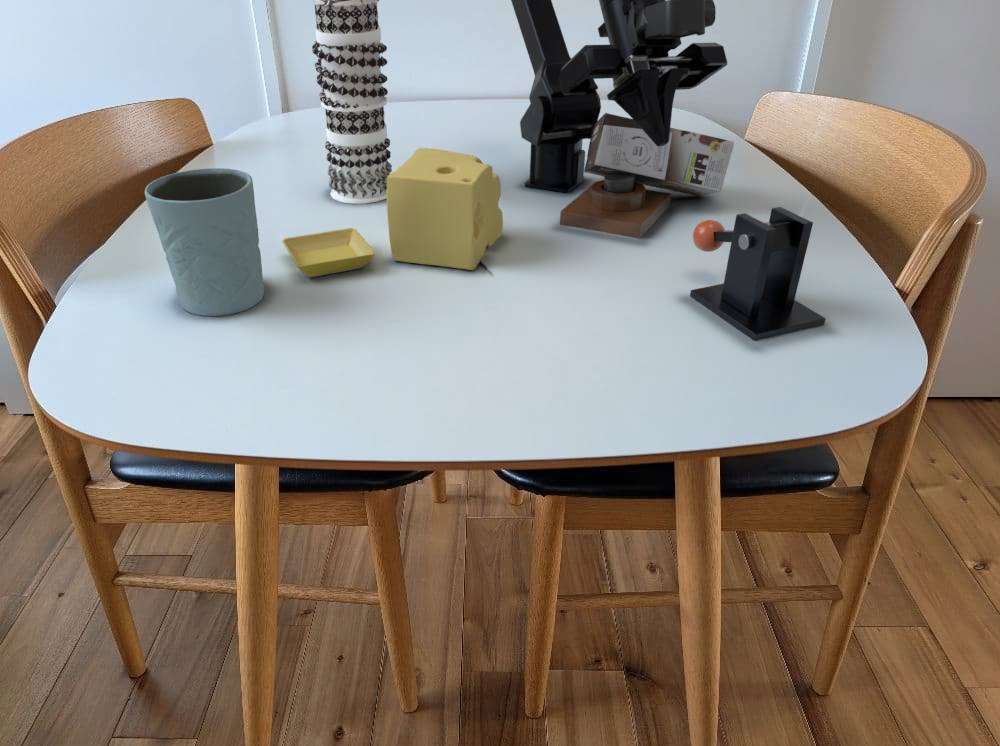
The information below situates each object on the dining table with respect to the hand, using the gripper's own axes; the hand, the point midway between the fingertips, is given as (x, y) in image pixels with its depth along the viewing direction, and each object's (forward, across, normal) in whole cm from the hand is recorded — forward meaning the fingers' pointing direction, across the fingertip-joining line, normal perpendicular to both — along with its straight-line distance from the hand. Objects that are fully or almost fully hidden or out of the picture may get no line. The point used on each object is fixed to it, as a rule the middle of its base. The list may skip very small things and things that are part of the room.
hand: (663, 144), depth 86 cm
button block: (+4, +2, +14) cm, 15 cm away
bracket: (+20, -1, -8) cm, 22 cm away
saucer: (+3, -33, +20) cm, 39 cm away
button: (+1, +2, +12) cm, 12 cm away
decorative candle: (-9, -21, +35) cm, 42 cm away
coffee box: (+1, +16, +9) cm, 19 cm away
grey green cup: (+6, -46, +18) cm, 50 cm away
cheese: (+4, -20, +16) cm, 26 cm away
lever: (+14, -1, -8) cm, 16 cm away
